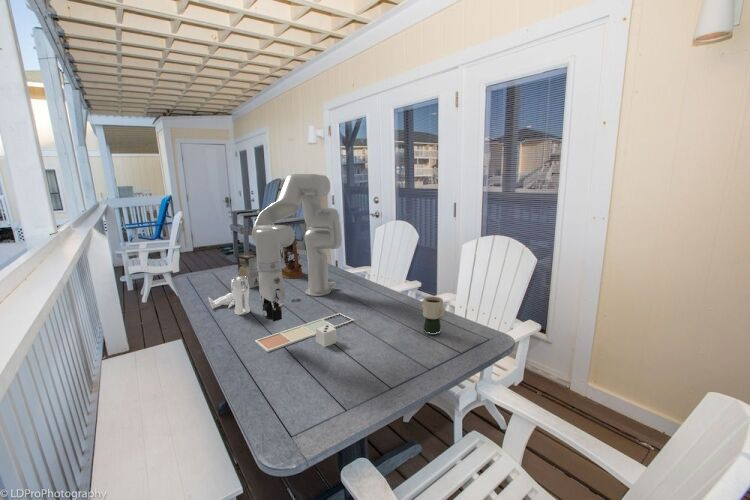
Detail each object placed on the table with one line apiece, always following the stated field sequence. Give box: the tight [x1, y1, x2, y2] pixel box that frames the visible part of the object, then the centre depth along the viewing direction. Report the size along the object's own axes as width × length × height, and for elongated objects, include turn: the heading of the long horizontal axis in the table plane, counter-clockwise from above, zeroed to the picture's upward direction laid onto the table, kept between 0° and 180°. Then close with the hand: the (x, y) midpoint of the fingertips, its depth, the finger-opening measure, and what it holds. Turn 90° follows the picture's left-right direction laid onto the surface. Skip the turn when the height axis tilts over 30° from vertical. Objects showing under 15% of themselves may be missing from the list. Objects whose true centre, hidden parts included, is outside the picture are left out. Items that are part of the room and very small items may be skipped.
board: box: [254, 312, 355, 353], centre depth 128 cm, size 37×10×1 cm, turn 132°
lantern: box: [280, 224, 304, 279], centre depth 196 cm, size 17×13×30 cm
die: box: [315, 325, 337, 348], centre depth 119 cm, size 5×5×5 cm
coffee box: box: [236, 253, 259, 289], centre depth 179 cm, size 9×6×16 cm
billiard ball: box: [262, 301, 278, 321], centre depth 117 cm, size 6×6×6 cm
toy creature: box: [207, 292, 235, 309], centre depth 154 cm, size 12×6×12 cm
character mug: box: [421, 295, 446, 333], centre depth 126 cm, size 11×7×13 cm, turn 37°
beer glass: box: [230, 275, 251, 316], centre depth 144 cm, size 7×7×15 cm
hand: (272, 316), depth 117 cm, fingers closed on billiard ball, 6 cm apart
